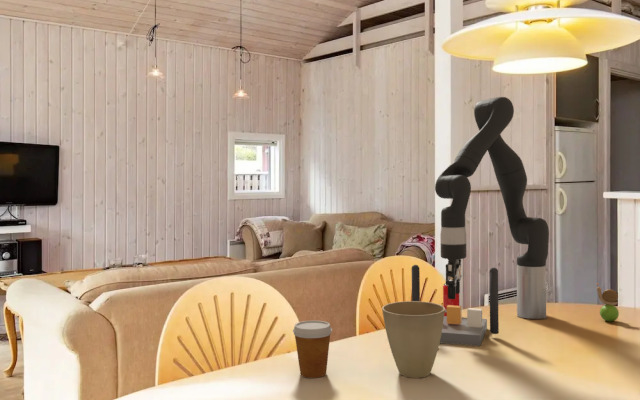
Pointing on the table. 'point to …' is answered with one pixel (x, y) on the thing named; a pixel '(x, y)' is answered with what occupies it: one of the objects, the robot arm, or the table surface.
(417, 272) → the dark grey rod
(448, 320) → the block
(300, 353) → the disposable coffee cup
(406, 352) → the plant pot
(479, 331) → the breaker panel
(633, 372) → the table surface
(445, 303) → the beverage can
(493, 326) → the dark grey post
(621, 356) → the table surface
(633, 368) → the table surface
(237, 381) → the table surface
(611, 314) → the snail figurine
